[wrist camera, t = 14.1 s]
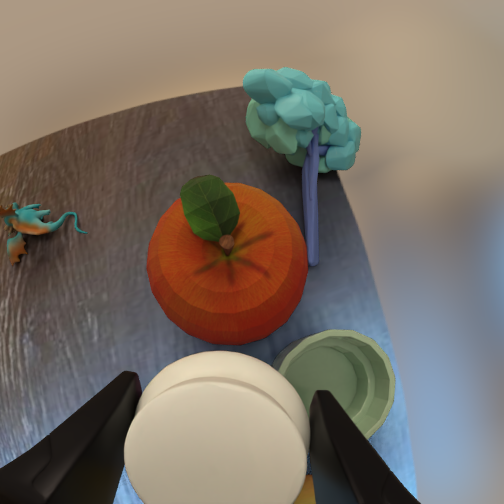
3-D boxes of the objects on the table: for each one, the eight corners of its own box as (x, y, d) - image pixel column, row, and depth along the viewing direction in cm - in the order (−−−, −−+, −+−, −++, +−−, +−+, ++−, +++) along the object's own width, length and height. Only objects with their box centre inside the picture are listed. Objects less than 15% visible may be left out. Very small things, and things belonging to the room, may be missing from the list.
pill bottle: (154, 395, 14) (52, 429, 5) (233, 332, 16) (223, 292, 7) (224, 472, 13) (206, 584, 4) (304, 409, 14) (384, 465, 5)
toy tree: (264, 239, 32) (279, 93, 29) (348, 258, 27) (366, 92, 24) (184, 251, 23) (206, 53, 20) (293, 282, 18) (318, 34, 15)
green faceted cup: (376, 408, 20) (407, 419, 16) (284, 447, 19) (296, 470, 15) (346, 320, 22) (372, 311, 18) (251, 355, 22) (254, 356, 17)
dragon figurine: (72, 160, 25) (-5, 181, 21) (82, 198, 21) (-13, 225, 16) (79, 218, 29) (11, 237, 25) (93, 263, 25) (12, 288, 21)
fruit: (199, 369, 21) (166, 382, 11) (147, 252, 23) (94, 188, 14) (319, 309, 22) (373, 277, 13) (259, 201, 25) (269, 115, 15)
